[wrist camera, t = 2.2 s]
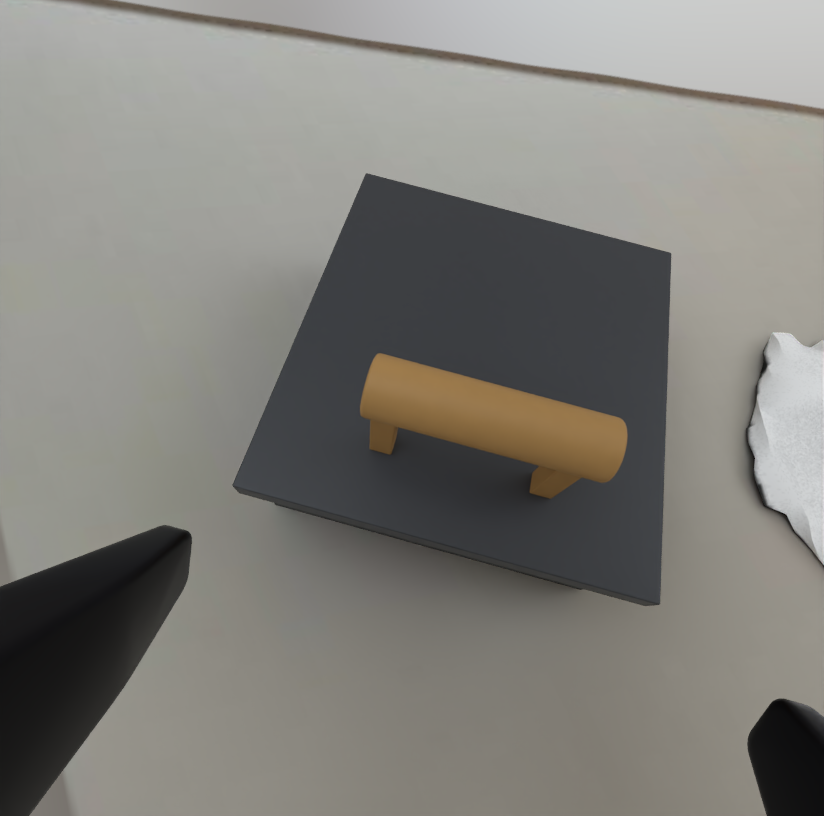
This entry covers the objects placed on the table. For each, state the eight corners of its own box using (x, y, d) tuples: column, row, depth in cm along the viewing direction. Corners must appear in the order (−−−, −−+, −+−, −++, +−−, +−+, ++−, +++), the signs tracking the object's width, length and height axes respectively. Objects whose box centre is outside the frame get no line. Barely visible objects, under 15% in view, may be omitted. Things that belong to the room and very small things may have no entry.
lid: (645, 606, 14) (783, 596, 10) (237, 492, 15) (178, 429, 10) (660, 266, 20) (752, 154, 15) (365, 188, 20) (366, 55, 16)
